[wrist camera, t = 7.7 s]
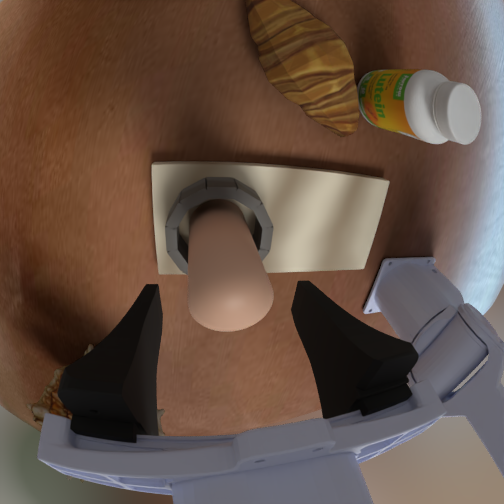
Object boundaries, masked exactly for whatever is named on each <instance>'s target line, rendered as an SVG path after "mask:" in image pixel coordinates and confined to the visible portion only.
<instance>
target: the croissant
mask: <svg viewBox="0 0 504 504" xmlns="http://www.w3.org/2000/svg"><path fill="white" fill-rule="evenodd" d="M246 6H247V14H248V21H249V27H250V34H251V37H252V38H253V40H254V41H255V43H256V44H257V45H258V52H259V60H260V62H261V65H262V67H263V69H264V71H265V74H266V76H267V78H268V80H269V82H270V83H271V84H272V85H273V86H274V87H275V88H276V89H277V90H278V91H279V92H280V93H282V94H283V95H284V96H285V97H286V98H287V99H288V100H290V101H292V102H294V103H296V104H298V105H300V106H301V108H302V109H303V111H304V112H305V114H306V115H307V116H308V117H310V118H312V119H313V120H315V121H316V122H318V123H320V124H321V125H323V126H324V127H326V128H327V129H329V130H331V131H332V132H334V133H335V134H337V135H338V136H340V137H345V136H348V135H351V134H353V133H354V132H355V131H356V130H357V128H358V120H359V103H358V94H357V87H356V83H355V79H354V64H353V62H352V59H351V57H350V54H349V52H348V50H347V47H346V45H345V43H344V42H343V41H342V39H341V38H340V37H339V36H338V35H337V34H336V33H335V32H334V31H333V30H332V29H331V28H330V27H329V26H328V25H326V24H324V23H323V22H321V21H319V20H318V19H316V18H315V17H314V16H313V15H311V14H310V13H309V12H308V11H307V10H305V9H303V8H302V7H300V6H299V5H297V4H296V3H294V2H292V1H291V0H246Z"/></svg>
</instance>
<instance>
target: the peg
mask: <svg viewBox="0 0 504 504" xmlns="http://www.w3.org/2000/svg"><path fill="white" fill-rule="evenodd" d="M273 296H274V294H273V289H272V286H271V283H270V281H269V278H268V275H267V273H266V270H265V268H264V265H263V263H262V260H261V258H260V255H259V253H258V250H257V248H256V245H255V243H254V240H253V238H252V235H251V233H250V230H249V228H248V225H247V223H246V220H245V218H244V215H243V213H242V211H241V210H240V209H239V207H238V206H236V205H235V204H234V203H232V202H230V201H227V200H223V199H214V200H209V201H207V202H205V203H203V204H201V205H200V206H199V207H197V208H196V210H195V211H194V212H193V214H192V216H191V219H190V223H189V248H188V308H189V311H190V313H191V315H192V317H193V318H194V319H195V320H196V321H197V322H198V323H200V324H201V325H203V326H205V327H206V328H209V329H212V330H216V331H225V332H227V331H237V330H242V329H245V328H247V327H250V326H252V325H254V324H255V323H257V322H258V321H260V320H261V319H262V318H263V317H264V316H265V315H266V314H267V313H268V311H269V310H270V308H271V305H272V303H273Z"/></svg>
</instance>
